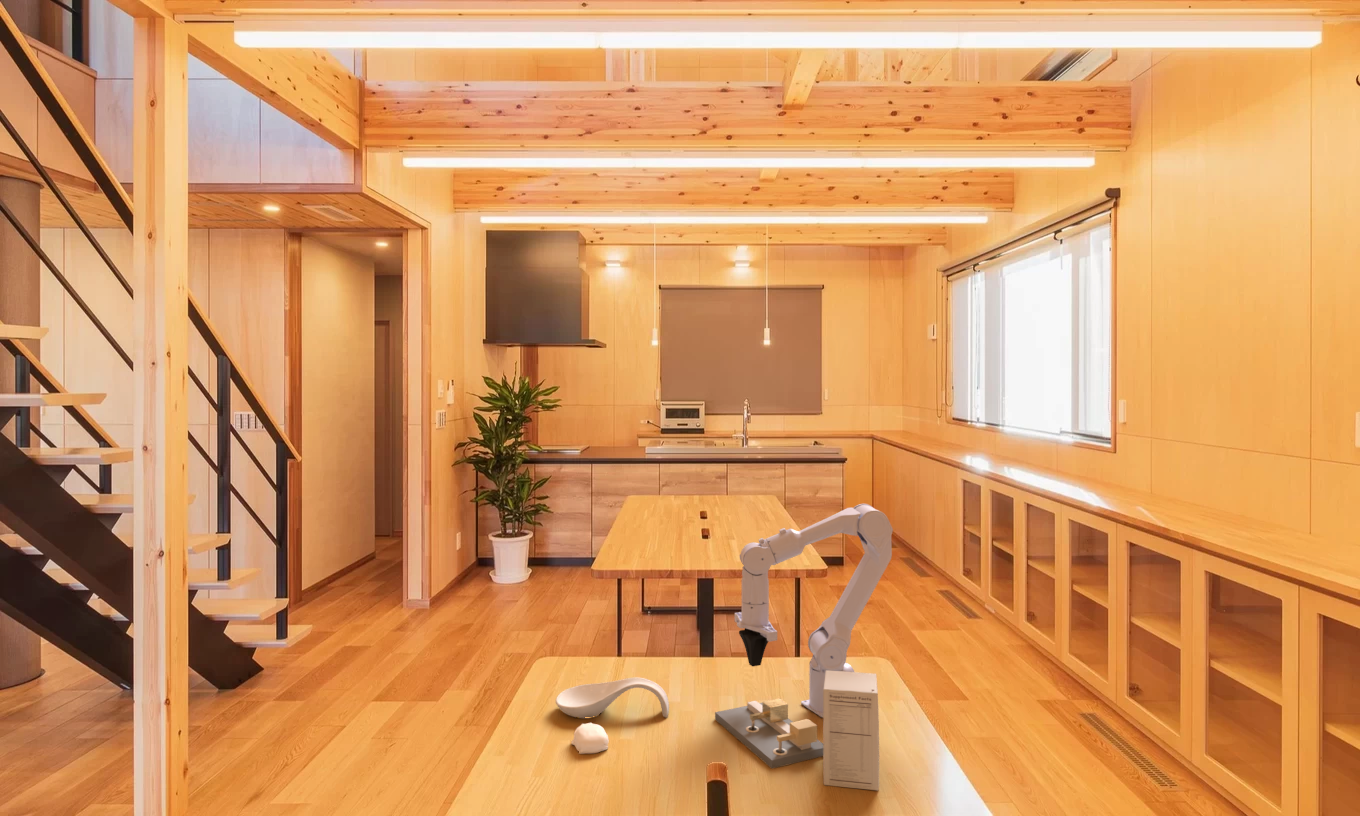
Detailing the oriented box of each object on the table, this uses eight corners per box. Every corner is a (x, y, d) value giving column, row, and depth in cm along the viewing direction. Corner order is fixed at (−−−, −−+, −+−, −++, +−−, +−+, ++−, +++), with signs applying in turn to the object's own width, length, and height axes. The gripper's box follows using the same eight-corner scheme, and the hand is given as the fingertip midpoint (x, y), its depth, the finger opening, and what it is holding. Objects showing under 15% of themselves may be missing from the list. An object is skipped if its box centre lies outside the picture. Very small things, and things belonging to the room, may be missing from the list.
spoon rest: (550, 725, 153) (550, 690, 153) (561, 701, 165) (561, 668, 165) (667, 726, 153) (667, 691, 152) (670, 702, 164) (670, 669, 164)
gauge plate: (765, 708, 160) (765, 682, 160) (827, 754, 140) (827, 724, 140) (715, 719, 155) (715, 691, 155) (771, 768, 135) (771, 737, 135)
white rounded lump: (568, 740, 147) (568, 721, 147) (602, 734, 149) (602, 715, 149) (577, 759, 139) (577, 739, 139) (613, 753, 142) (613, 733, 142)
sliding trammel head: (779, 719, 151) (779, 698, 151) (787, 725, 149) (787, 704, 149) (747, 726, 148) (747, 705, 148) (754, 732, 146) (754, 711, 145)
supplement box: (878, 765, 136) (878, 672, 136) (879, 792, 127) (880, 693, 127) (824, 759, 139) (824, 668, 138) (822, 785, 130) (822, 688, 129)
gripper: (722, 594, 165) (722, 656, 165) (756, 612, 151) (756, 679, 152) (750, 590, 168) (750, 651, 168) (786, 608, 154) (786, 674, 155)
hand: (755, 664), depth 160 cm, fingers closed
